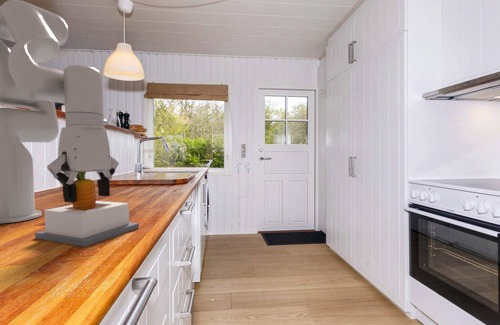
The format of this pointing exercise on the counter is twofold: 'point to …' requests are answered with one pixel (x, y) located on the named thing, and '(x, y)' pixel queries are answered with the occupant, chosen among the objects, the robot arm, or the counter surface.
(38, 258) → the counter surface
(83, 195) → the carrot
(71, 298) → the counter surface
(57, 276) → the counter surface
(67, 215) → the socket stand
